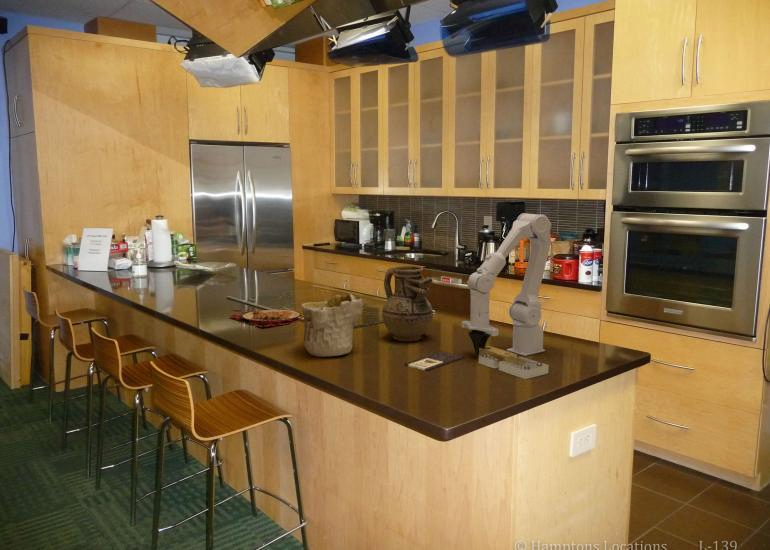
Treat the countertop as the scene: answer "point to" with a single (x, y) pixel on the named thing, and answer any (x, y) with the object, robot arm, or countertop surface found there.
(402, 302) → the decorative pitcher
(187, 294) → the countertop surface
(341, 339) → the ceramic vessel
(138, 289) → the countertop surface
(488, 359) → the chain end
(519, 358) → the chain end
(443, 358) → the chocolate bar
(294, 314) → the plate with food
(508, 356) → the riveted link plate
